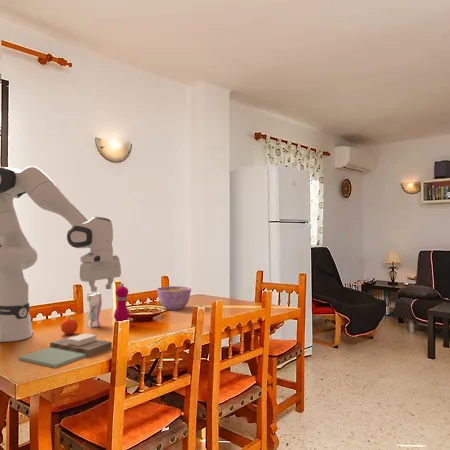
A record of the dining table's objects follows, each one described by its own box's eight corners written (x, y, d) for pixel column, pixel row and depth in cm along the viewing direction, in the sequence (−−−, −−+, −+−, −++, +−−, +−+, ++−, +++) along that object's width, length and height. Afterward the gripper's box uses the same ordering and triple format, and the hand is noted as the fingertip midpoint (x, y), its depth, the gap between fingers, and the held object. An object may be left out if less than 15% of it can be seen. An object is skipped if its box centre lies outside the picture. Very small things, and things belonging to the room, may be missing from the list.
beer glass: (103, 324, 202) (103, 293, 202) (99, 327, 195) (99, 295, 195) (88, 324, 202) (89, 293, 202) (84, 327, 195) (84, 295, 195)
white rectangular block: (67, 343, 159) (67, 338, 159) (85, 338, 167) (85, 333, 167) (78, 345, 156) (78, 340, 156) (96, 340, 164) (96, 335, 164)
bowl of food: (152, 306, 247) (152, 287, 247) (184, 304, 255) (184, 285, 256) (162, 313, 229) (162, 292, 229) (196, 310, 237) (196, 290, 237)
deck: (50, 349, 160) (50, 342, 160) (74, 341, 171) (74, 335, 171) (88, 356, 151) (88, 349, 151) (111, 348, 162) (111, 342, 162)
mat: (19, 359, 147) (19, 356, 147) (51, 349, 160) (51, 346, 160) (54, 367, 139) (54, 364, 139) (86, 356, 152) (86, 353, 152)
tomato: (74, 331, 188) (74, 315, 188) (83, 333, 184) (83, 317, 184) (57, 334, 182) (57, 318, 182) (66, 337, 178) (66, 320, 178)
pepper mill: (113, 327, 196) (114, 284, 196) (113, 323, 203) (114, 282, 203) (129, 326, 198) (130, 284, 198) (128, 322, 205) (129, 282, 205)
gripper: (113, 254, 181) (113, 286, 181) (77, 257, 163) (76, 293, 163) (124, 255, 179) (124, 287, 178) (89, 258, 160) (88, 294, 160)
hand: (101, 290), depth 171 cm, fingers open, 7 cm apart
